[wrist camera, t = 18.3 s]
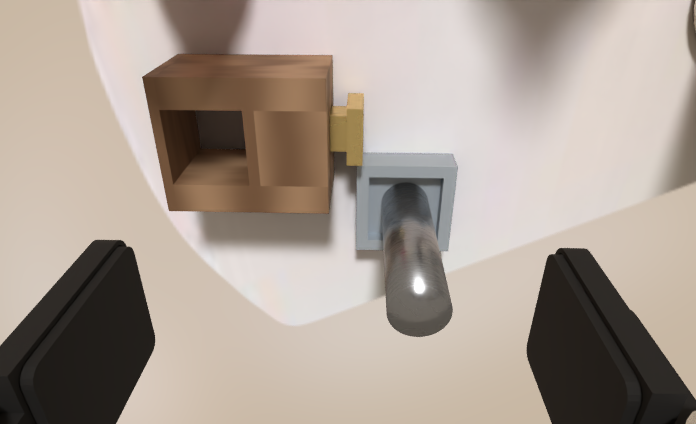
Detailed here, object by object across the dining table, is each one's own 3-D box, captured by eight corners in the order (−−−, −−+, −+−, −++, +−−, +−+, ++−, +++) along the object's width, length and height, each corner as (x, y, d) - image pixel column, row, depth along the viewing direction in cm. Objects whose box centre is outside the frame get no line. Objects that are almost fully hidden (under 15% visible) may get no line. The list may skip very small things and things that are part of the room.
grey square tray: (452, 153, 42) (457, 167, 40) (443, 234, 46) (448, 251, 44) (357, 152, 42) (356, 165, 40) (356, 233, 46) (356, 249, 44)
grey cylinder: (429, 182, 42) (455, 286, 30) (426, 223, 44) (449, 337, 32) (381, 182, 42) (387, 285, 30) (380, 223, 44) (385, 336, 32)
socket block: (332, 55, 38) (325, 78, 32) (334, 173, 43) (328, 213, 37) (177, 54, 39) (142, 77, 33) (196, 171, 44) (168, 210, 38)
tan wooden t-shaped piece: (363, 93, 39) (363, 109, 36) (362, 146, 41) (362, 165, 38) (272, 92, 39) (263, 108, 36) (276, 144, 42) (267, 164, 38)
